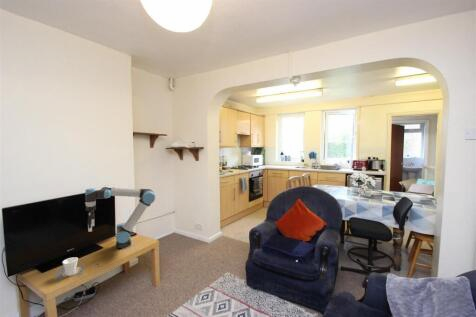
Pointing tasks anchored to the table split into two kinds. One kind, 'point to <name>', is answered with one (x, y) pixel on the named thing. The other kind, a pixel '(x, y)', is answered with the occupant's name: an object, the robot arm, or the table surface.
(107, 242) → the table surface
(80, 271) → the coaster
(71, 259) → the cup
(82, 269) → the placemat
